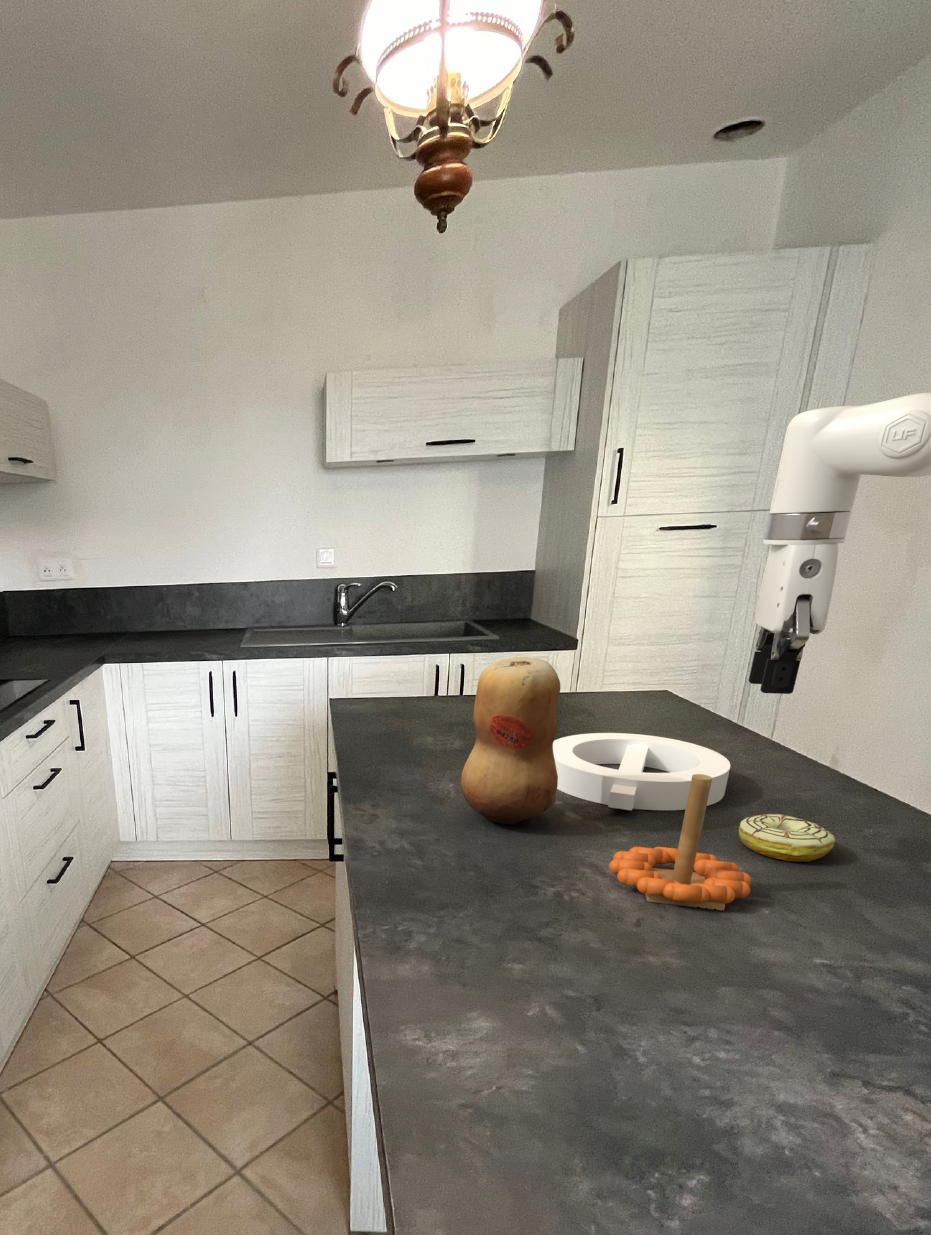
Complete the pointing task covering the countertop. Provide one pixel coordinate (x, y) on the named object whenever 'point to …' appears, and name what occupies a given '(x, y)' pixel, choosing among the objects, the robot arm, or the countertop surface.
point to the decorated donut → (785, 837)
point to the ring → (717, 887)
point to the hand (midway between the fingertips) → (769, 686)
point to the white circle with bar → (636, 770)
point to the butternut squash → (513, 741)
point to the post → (689, 845)
